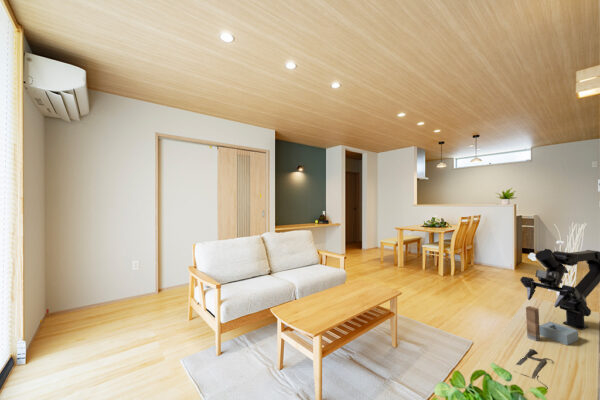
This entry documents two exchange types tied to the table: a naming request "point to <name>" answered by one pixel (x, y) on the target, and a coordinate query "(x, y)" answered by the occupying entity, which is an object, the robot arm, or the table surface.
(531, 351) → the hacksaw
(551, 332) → the holder
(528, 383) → the table surface
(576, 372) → the table surface
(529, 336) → the tan rectangular block
